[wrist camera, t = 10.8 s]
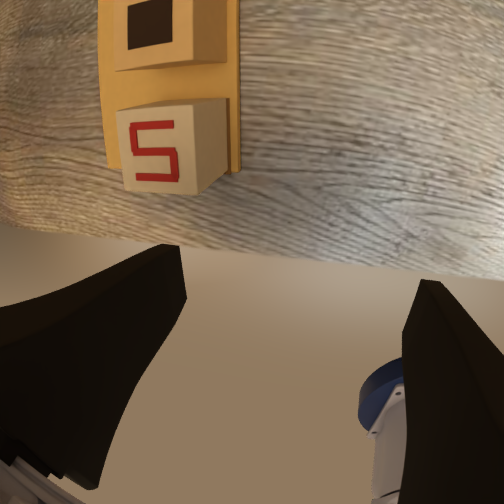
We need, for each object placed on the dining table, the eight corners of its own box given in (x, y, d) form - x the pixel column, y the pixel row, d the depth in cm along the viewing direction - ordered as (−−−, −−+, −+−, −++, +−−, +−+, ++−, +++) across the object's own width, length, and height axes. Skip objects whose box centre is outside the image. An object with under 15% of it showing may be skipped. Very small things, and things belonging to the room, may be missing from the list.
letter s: (228, 170, 17) (196, 197, 14) (164, 167, 18) (123, 192, 14) (226, 97, 15) (191, 104, 12) (158, 101, 16) (113, 111, 12)
